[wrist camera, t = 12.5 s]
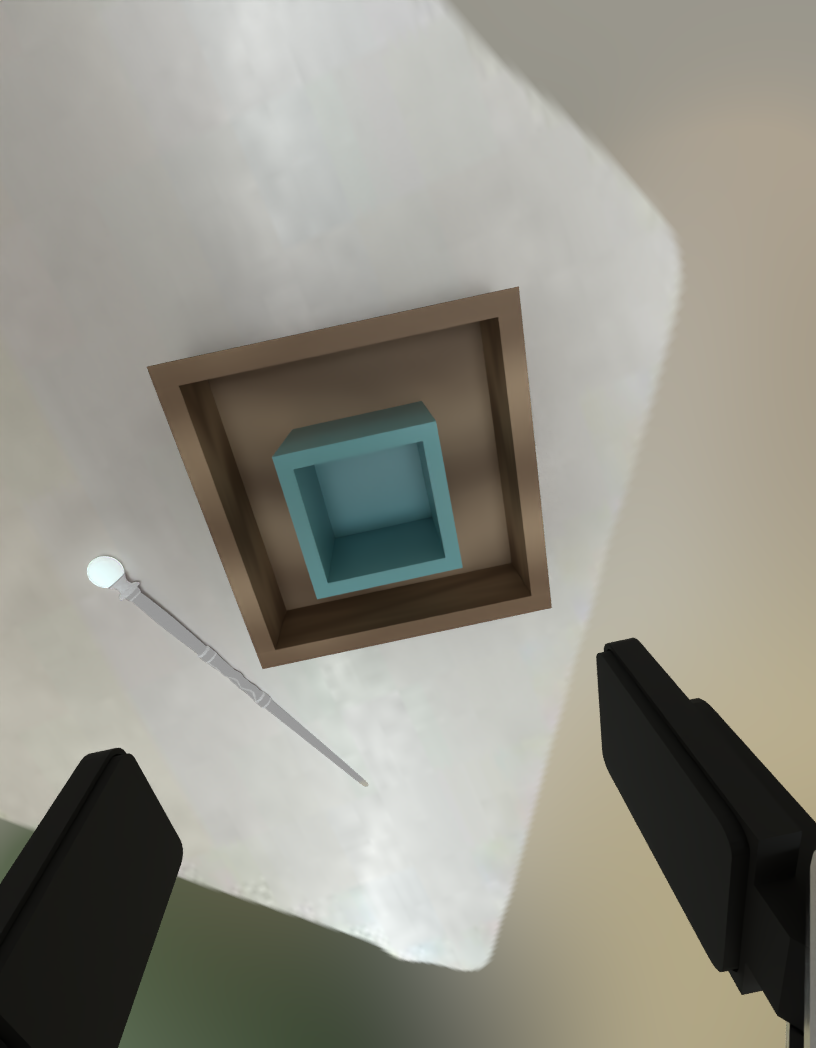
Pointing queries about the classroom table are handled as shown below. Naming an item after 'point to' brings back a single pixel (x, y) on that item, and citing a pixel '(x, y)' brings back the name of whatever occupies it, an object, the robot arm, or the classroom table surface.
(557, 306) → the classroom table surface
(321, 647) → the big crate
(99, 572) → the magic wand
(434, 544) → the small crate
